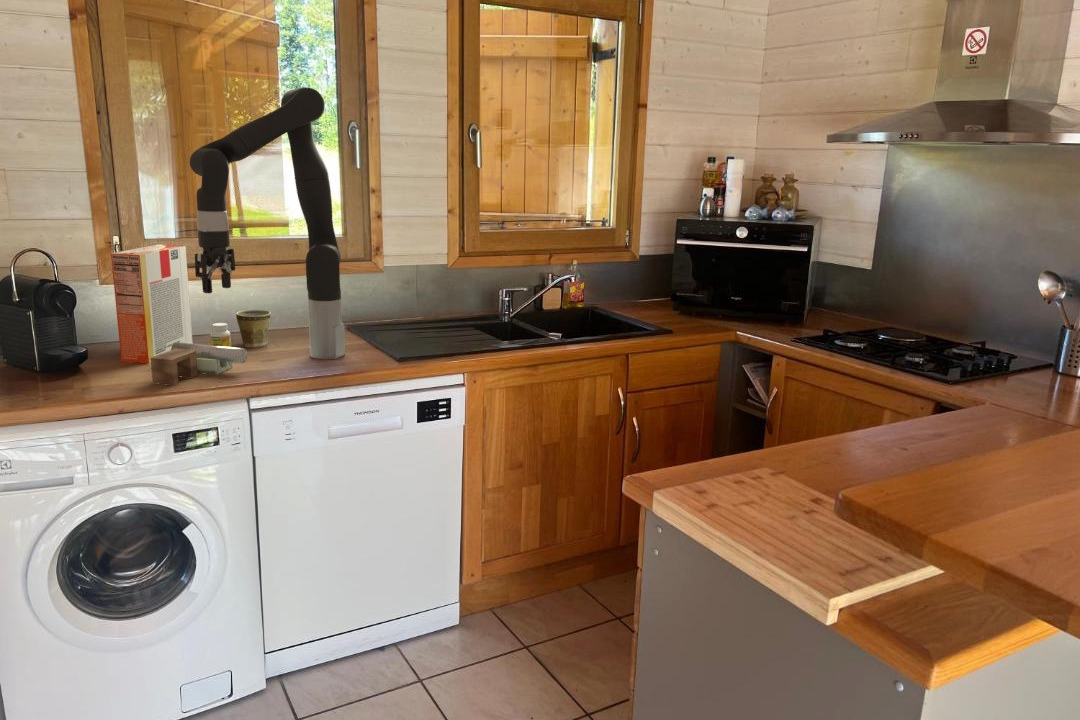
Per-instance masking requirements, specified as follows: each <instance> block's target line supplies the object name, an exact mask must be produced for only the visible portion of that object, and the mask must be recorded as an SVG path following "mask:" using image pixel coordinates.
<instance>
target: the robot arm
mask: <svg viewBox="0 0 1080 720" xmlns="http://www.w3.org/2000/svg"><path fill="white" fill-rule="evenodd" d="M280 101H281V102H280V107H278V108H277V109H275V110H273V111H271V112H269V113H267V114H265V115H263V116H260V117H258V118H256V119H254V120H252V121H249V122H247V123H245V124H243V125H242V126H241V125H240V126H239V127H237V128H236V129H234V130H232V131H231V132H229V133H228V134H227V135H225V136H223V137H221V138H219V139H216V140H214V141H211V142H210V143H207V144H204V145H202V146H200V147H199V148H197V149H196V150H194V152H192V154H191V156H190V157H189V167H190V169H191V170H192V171H193V173H194V174H197V175H198V176H199V177H201V185H200V186H201V187H199V188H198V189H196V209H197V211H196V212H197V215H196V216H197V217H196V223H197V224H196V225H197V226H196V227H197V238H198V240H197V241H198V247H200V248H202V253H195V254H194V266H195V267H194V272H195V273H194V274H195V277H197V278H200V279H201V284H202V286H201V288H202V292H203V293H204V294H212V293H213V284H212V283H213V282H212V276H213V273H214V272H216V269H218V270H219V271H220V273H221V275H220V276H221V287H222V288H223V289H231V287H232V282H231V279H232V278H231V275H232V273H233V272H235V271H236V260H235V259H236V258H235V250H234V248H228V247H230V245H231V244H230V243H231V241H230V228H229V227H230V226H229V225H230V224H229V216H228V207H227V206H228V205H227V196H226V194H227V189H228V182H229V175H230V166H229V164H232V163H235V162H240V161H243V160H245V159H247V158H248V157H249V156H251V155H253V154H254V153H256V152H258V151H260V150H261V149H262V148H264V147H265V146H267V145H269V144H270V143H272V142H273V141H275V140H276V139H278V138H280V137H281V136H283V135H285V134H287V137H288V138H287V139H288V142H289V147H290V154H291V155H290V156H291V160H292V167H293V171H294V173H293V174H294V183H295V188H296V193H297V194H296V195H297V198H298V203H299V206H300V208H301V211H302V215H303V217H304V220H305V224H306V229H307V238H308V251H307V252H306V257H305V276H306V290H307V299H308V302H307V303H308V329H309V330H308V332H309V356H310V357H311V358H313V359H317V360H319V359H320V360H330V359H331V360H332V359H333V360H337V359H339V358H340V357H343V356H344V355H346V348H345V347H346V346H345V343H346V342H345V339H346V338H345V337H346V335H345V323H344V322H342V290H341V289H342V288H341V281H340V280H341V276H340V275H341V274H340V273H341V271H340V269H341V268H340V264H341V260H342V259H341V258H342V256H341V252H340V248H339V246H338V241H337V238H336V234H335V230H334V229H335V228H334V223H333V221H334V220H333V204H332V202H333V201H332V200H333V199H332V191H331V184H330V183H331V182H330V177H329V172H328V169H327V166H326V164H325V161H324V160H323V158H322V156H321V154H320V152H319V150H318V148H317V145H316V143H315V142H316V141H315V138H314V133H313V126H312V123H314V122H316V121H318V120H319V119H320V118H321V117H322V116H323V114H324V111H325V108H326V107H325V106H326V105H325V104H326V103H325V100H324V97H323V96H322V94H321V93H320V92H319V91H318V90H316V89H314V88H311V87H307V86H306V87H304V86H303V87H299V88H293V89H290V90H288V91H286V92H285V93H284V94H283V95H282V98H281V100H280Z"/></svg>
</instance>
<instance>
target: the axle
mask: <svg viewBox="0 0 1080 720" xmlns="http://www.w3.org/2000/svg"><path fill="white" fill-rule="evenodd" d="M174 349H183V350H194V351H196V355H197V358H205V359H215V360H220V361H224V362H232V363H235V364H244V363H245V362H246V361H247V358H248V351H247V349H245V348H241V347H233V346H231V347H223V346H212V345H209V344H202V343H201V344H200V343H193V344H191V343H180V342H175V343H173V345H172V347H171V350H174Z"/></svg>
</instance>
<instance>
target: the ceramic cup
mask: <svg viewBox="0 0 1080 720" xmlns="http://www.w3.org/2000/svg"><path fill="white" fill-rule="evenodd" d="M271 313H272V312H271V311H269V310H265V309H263V310H262V309H247V310H240V311H237V312H236V313H235V316H236V321H237V325H238V328H239V332H240V333H239V334H240V336H241V340H242V344H243V345H244V347H246V346H252V347H251V348H257V347H256V346H262V347H264V346H266V345H267V343H268V339H269V331H270V330H269V329H270V328H269V327H270V323H271V316H272V314H271ZM263 345H264V346H263Z"/></svg>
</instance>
